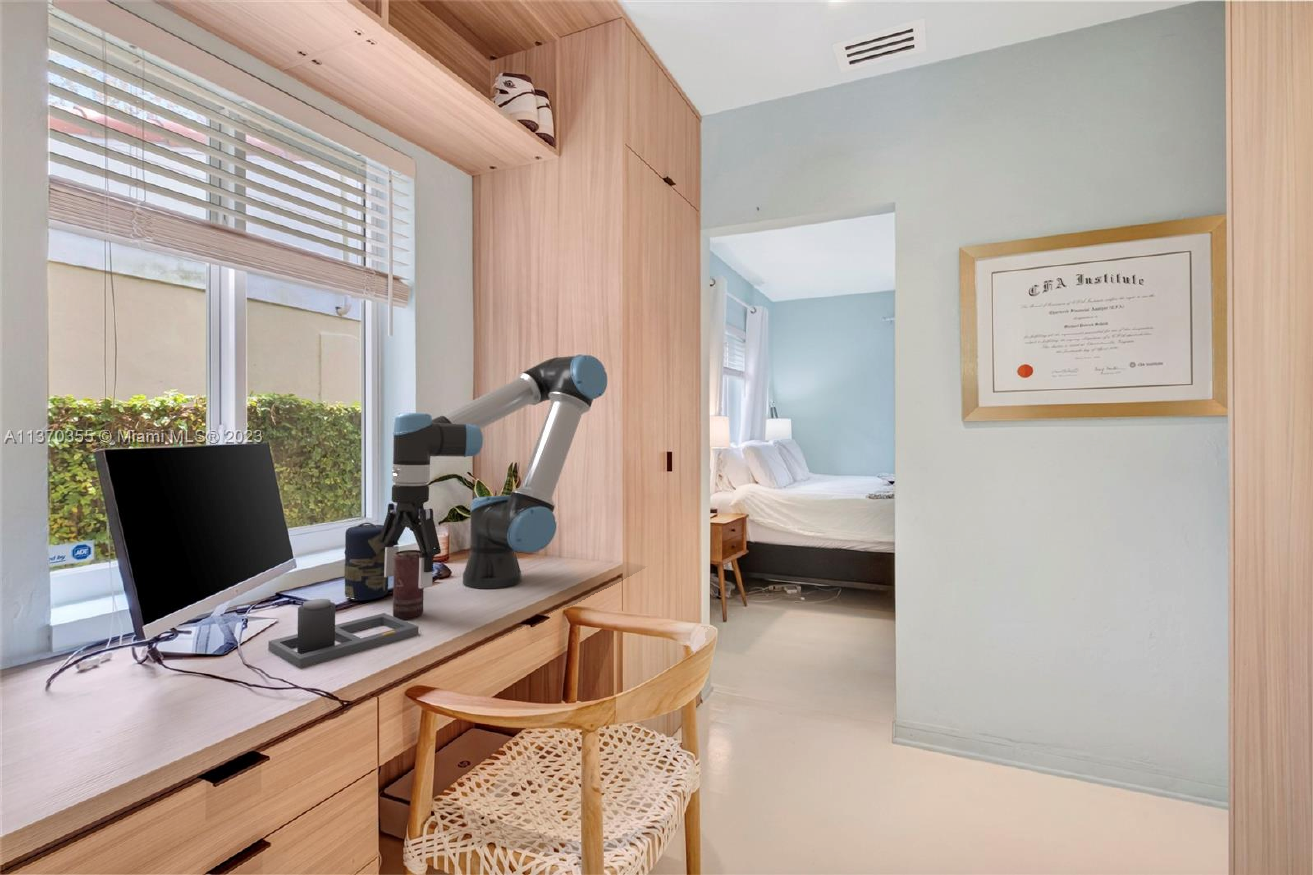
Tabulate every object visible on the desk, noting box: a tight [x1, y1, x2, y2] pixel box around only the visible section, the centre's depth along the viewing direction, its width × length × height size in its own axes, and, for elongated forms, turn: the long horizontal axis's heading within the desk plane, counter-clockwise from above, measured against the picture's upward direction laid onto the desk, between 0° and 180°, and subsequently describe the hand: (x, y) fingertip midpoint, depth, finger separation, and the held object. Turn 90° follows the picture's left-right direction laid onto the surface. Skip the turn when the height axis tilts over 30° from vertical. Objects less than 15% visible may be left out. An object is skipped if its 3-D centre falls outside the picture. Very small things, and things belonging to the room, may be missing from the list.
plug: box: [296, 598, 336, 654], centre depth 110 cm, size 6×6×9 cm
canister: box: [343, 522, 389, 601], centre depth 143 cm, size 10×10×18 cm
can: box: [392, 549, 425, 621], centre depth 131 cm, size 6×6×14 cm
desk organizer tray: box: [268, 612, 420, 669], centre depth 115 cm, size 22×13×2 cm, turn 143°
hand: (407, 581), depth 130 cm, fingers open, 13 cm apart
